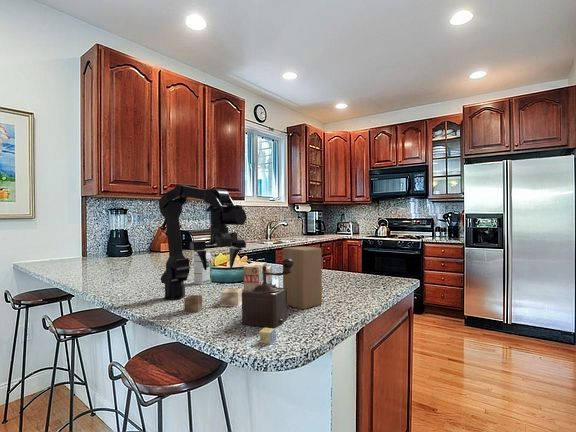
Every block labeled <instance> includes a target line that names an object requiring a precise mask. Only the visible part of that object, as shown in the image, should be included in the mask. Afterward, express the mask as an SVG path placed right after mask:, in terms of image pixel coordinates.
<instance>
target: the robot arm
mask: <svg viewBox="0 0 576 432" xmlns="http://www.w3.org/2000/svg"><path fill="white" fill-rule="evenodd" d="M188 197H189V198H194V199H199V200H202V201H203V202H204V203H206V204H208V205H209V206H208V208H206V209H205V212H207V213H209V212H210V213H209V222H210V223H209V224H210V225H209V231H210V233H209V236H210V237H209V242H208V241H207V242H206V241H205V240H191V241H190V243H189V249H190V250H193V252H194V253H198V255H199V257H200V259H201V262H202V264H203V267H204V269H205V270H207V262H206V252H207V250H205V249H207V248H209V249H210V248H225V247H226V248H229V268H230V269H232V268H233V267H234V264H235V260H236V257H237V255H238V253H240V251H242V250H243V249H244V248H245V249H246V248H247V242H246V240H245V239H240V238H239V237H238V233H237V232H233V231H232V232H230V233H229V228H228V226H243V225H244V224H245V223H246V220H247V214H246V211H245V209H244V208H243V205H242V204H235V203H234V201H233V199H232V198H231V196H230V194H229V190H226V189H220V188H206V189H204V188H199V187H193V186H189V185H186V184H177V185H175V187H174V188H172V189H171V190H169V191H167V192H165V193H164V194H163V195H162V196H161V197H160V198H159V201H158V207H159V211H160V214H161V216H162V217H163V218H164V219H165V220H164V221H165V228H166V235H167V236H166V237H167V246H168V256H169V257H168V259H167V260H166V263H165V271H164V272H163V273H162V275H161V276H160V282H161V284H164V297H163V298H162V299H163V300H181V299H182V298H185V297H186V286H185V283H184V282H185V281H188V276H189V274H190V269H191V266H190V265H191V264H190V258H188V257H187V258H186V257H185V255H184V253H183V244H182V236H181V224H180V216H181V215H182V213H183V206H184V205H185V204H186V203H187V201H188Z"/></svg>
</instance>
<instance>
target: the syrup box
mask: <svg viewBox="0 0 576 432" xmlns="http://www.w3.org/2000/svg"><path fill="white" fill-rule="evenodd" d="M211 258H212V253H211V252H208V251H206V262H207V270H205V269H204V267H203V264H202V262H201V259H200V257H199V255H198V253H197V252H194V253H193V283H194V284H195V285H202V286H203V285H205V284H211V283H212V277H211V278H210V269H211V270H212V259H211Z"/></svg>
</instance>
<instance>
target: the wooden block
mask: <svg viewBox="0 0 576 432" xmlns="http://www.w3.org/2000/svg"><path fill="white" fill-rule="evenodd" d="M286 258H287V259H291V260H293V266H292V268H291V273H288V274H287V275H285V274H284V275H282V288H287V307H292V308H297V309H301V310H306V309H309V308H312V307H316V306H320V305H322V304H323V287H322V286H323V282H322V281H323V280H322V279H323V273H322V272H323V271H322V269H323V267H322V265H323V263H322V248H321V247H313V246H301V245H300V246H293V247H292V246H291V247H290V246H289V247H283V248H282V261H283V260H284V259H286ZM283 270H284V268H283V267H282V271H283Z"/></svg>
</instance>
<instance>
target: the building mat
mask: <svg viewBox="0 0 576 432" xmlns="http://www.w3.org/2000/svg"><path fill="white" fill-rule="evenodd" d="M241 306H242V302H241V303H240V304H239V305H221V304H220V305H219V307H241Z"/></svg>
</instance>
